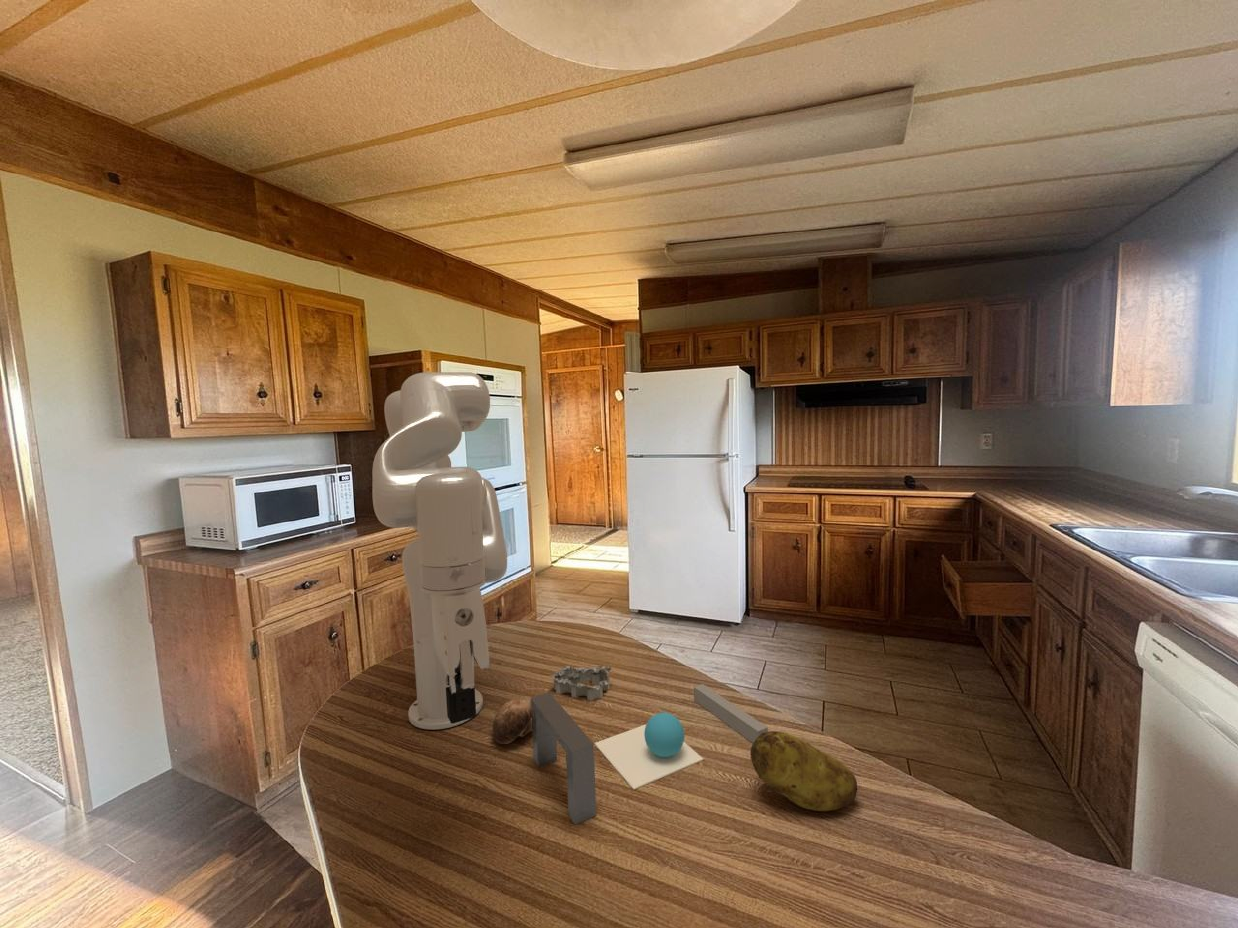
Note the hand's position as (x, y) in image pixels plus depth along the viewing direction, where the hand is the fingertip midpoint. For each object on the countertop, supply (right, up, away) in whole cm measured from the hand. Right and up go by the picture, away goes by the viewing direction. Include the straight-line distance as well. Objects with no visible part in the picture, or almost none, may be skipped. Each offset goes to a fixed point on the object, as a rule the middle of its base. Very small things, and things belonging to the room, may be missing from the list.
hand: (461, 716), depth 66 cm
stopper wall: (+38, -11, +22) cm, 45 cm away
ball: (+27, -9, +13) cm, 31 cm away
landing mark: (+24, -12, +14) cm, 30 cm away
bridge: (+12, -13, +7) cm, 19 cm away
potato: (+44, -13, +4) cm, 46 cm away
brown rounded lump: (+3, -13, +20) cm, 24 cm away
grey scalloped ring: (+13, -12, +34) cm, 38 cm away
